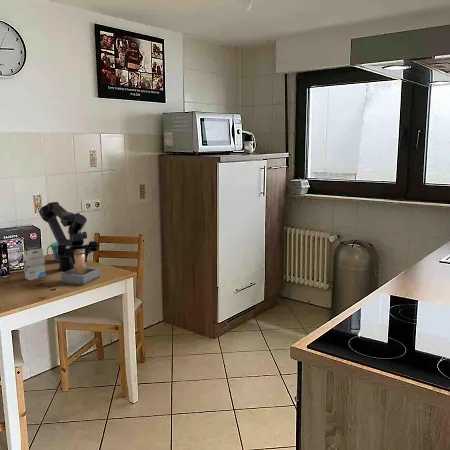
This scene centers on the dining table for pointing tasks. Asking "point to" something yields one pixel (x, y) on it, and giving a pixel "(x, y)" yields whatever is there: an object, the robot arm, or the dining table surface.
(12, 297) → the dining table surface
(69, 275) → the box
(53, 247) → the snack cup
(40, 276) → the ink box
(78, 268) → the jar
